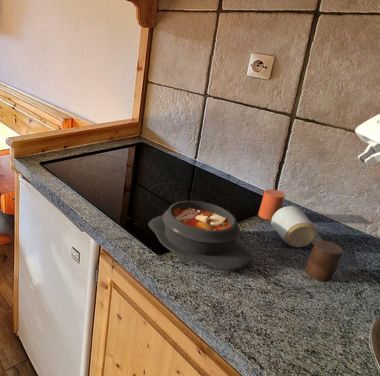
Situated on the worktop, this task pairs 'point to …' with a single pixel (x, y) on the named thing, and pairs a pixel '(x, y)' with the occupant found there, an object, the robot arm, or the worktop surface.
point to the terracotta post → (271, 203)
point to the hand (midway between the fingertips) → (362, 161)
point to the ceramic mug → (294, 227)
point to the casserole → (202, 234)
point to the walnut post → (323, 260)
